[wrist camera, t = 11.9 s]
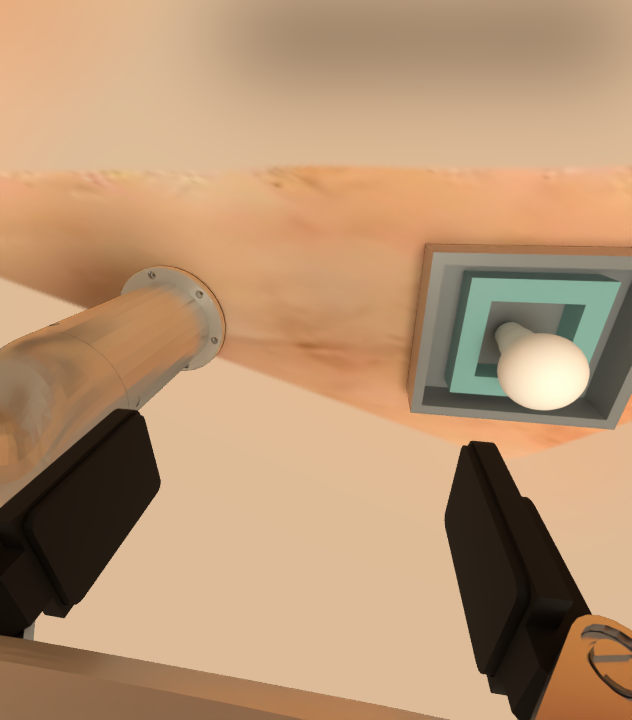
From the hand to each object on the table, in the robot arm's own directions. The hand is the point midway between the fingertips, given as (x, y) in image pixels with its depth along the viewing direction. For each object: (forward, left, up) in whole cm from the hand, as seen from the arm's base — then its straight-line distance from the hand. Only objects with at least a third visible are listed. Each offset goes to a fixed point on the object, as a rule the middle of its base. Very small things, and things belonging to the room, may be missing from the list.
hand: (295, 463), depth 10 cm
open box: (+9, -15, -28) cm, 33 cm away
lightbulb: (+8, -14, -27) cm, 32 cm away
